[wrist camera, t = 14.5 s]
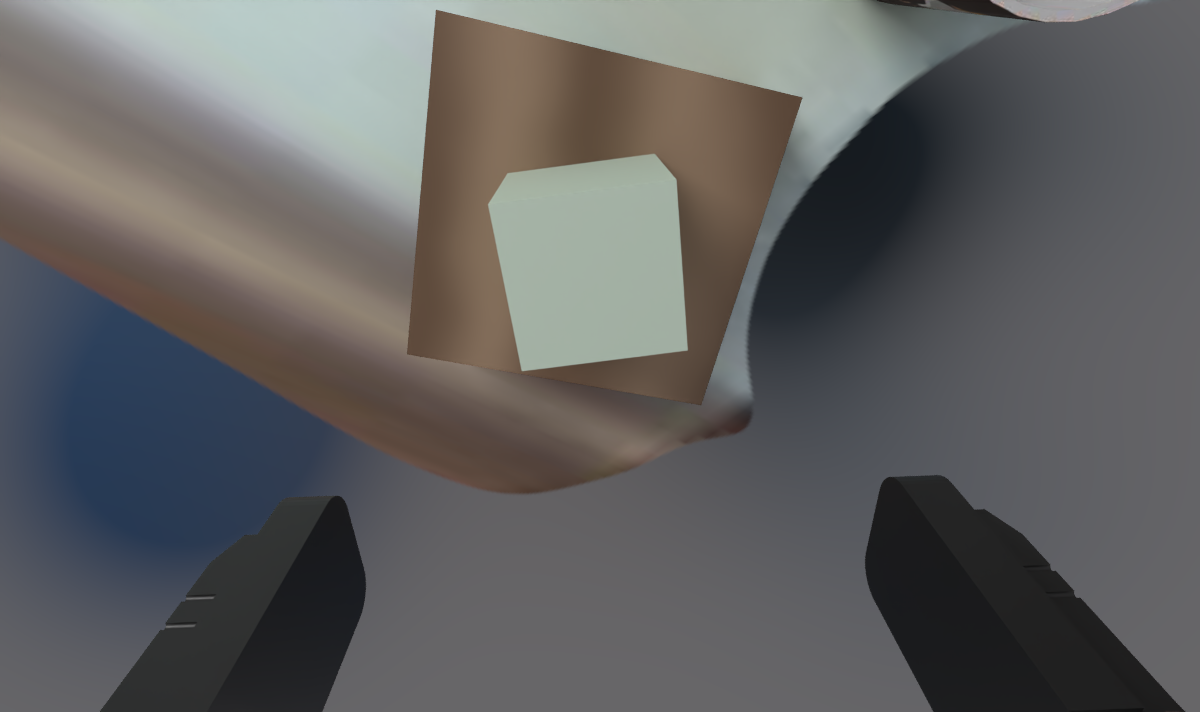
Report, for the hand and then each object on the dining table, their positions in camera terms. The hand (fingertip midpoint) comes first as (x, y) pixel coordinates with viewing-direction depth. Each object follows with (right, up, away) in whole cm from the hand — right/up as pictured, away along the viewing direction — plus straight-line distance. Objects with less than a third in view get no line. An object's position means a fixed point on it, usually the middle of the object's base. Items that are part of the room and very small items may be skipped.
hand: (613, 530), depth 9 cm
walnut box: (-1, +10, +20) cm, 22 cm away
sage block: (-1, +7, +14) cm, 16 cm away
